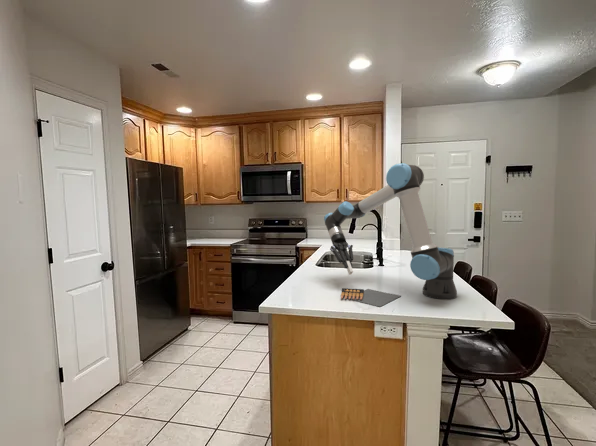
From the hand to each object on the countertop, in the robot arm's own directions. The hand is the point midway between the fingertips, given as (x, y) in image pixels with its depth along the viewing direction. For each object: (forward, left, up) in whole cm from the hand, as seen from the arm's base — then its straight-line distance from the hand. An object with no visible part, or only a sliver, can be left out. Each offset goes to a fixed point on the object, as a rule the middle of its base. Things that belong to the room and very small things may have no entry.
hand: (351, 273), depth 157 cm
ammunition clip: (-2, +2, -8) cm, 9 cm away
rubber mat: (-13, +1, -10) cm, 16 cm away
